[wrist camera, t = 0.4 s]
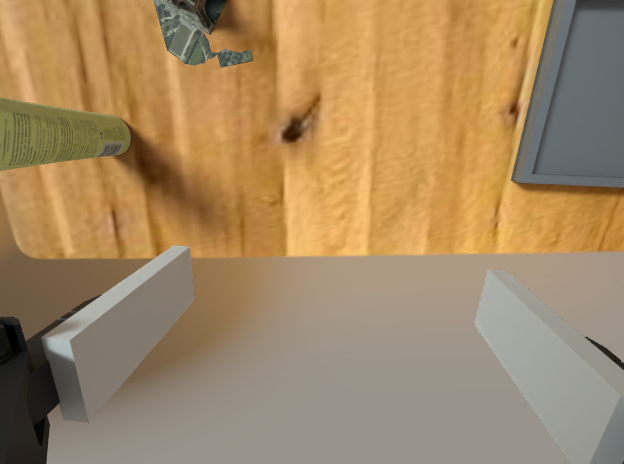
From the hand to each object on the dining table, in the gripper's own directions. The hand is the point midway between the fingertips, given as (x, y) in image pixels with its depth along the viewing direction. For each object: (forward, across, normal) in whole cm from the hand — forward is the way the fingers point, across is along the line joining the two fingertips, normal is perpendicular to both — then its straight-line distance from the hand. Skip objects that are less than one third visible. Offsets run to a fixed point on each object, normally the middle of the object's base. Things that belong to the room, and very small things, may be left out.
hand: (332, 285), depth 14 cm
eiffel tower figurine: (+28, -17, +20) cm, 38 cm away
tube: (+27, -29, +5) cm, 40 cm away
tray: (+27, +30, +11) cm, 42 cm away
